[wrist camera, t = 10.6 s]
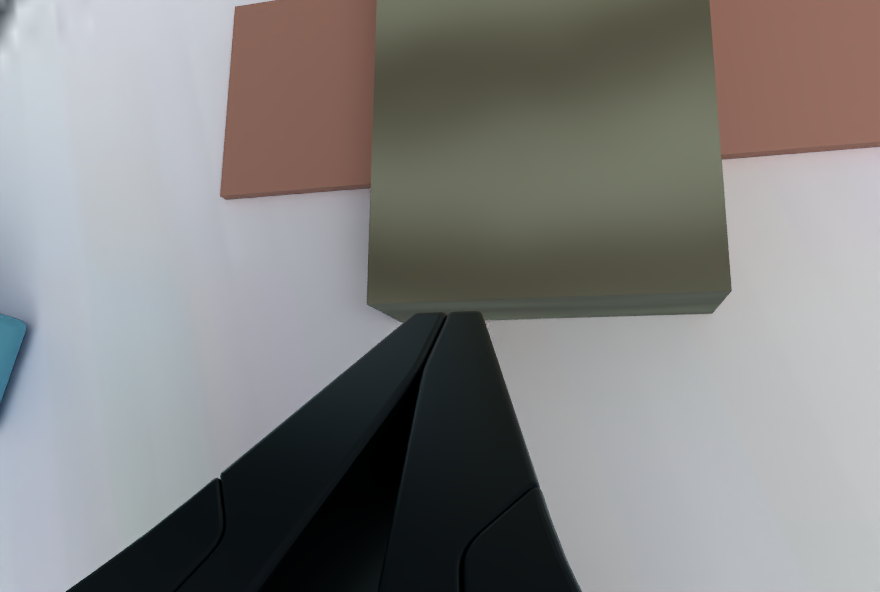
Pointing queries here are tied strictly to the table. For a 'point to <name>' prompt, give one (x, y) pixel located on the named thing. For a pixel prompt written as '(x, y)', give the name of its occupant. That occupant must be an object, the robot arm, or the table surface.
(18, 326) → the data package
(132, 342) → the table surface
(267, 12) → the reddish brown flat panel
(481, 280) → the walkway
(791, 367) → the table surface
